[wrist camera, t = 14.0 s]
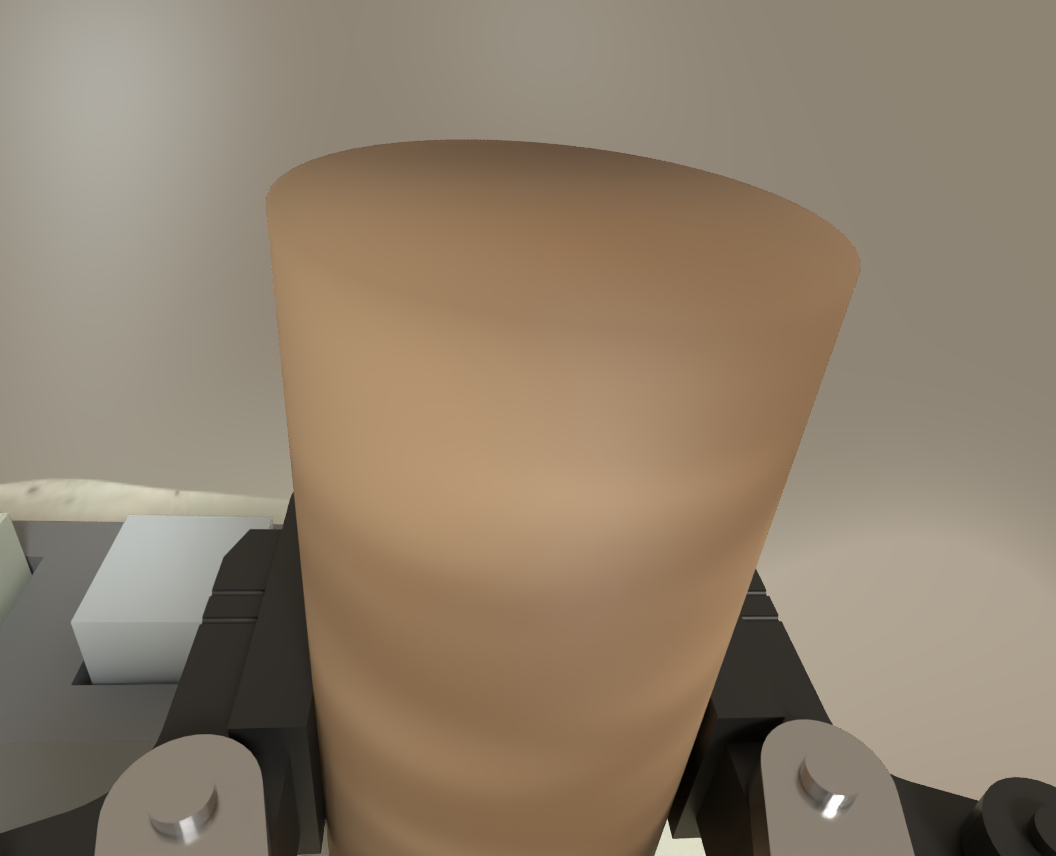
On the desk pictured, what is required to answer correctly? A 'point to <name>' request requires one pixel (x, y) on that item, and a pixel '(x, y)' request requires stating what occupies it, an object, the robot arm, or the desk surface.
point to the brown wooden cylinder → (533, 473)
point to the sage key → (11, 566)
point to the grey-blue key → (153, 595)
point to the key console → (64, 685)
